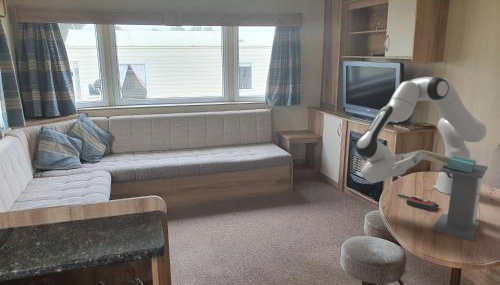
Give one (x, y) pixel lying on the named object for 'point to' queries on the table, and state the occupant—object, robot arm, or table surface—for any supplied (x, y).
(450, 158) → the tan and teal block
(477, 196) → the cylindrical container
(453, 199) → the stand
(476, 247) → the table surface
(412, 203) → the walkie-talkie
